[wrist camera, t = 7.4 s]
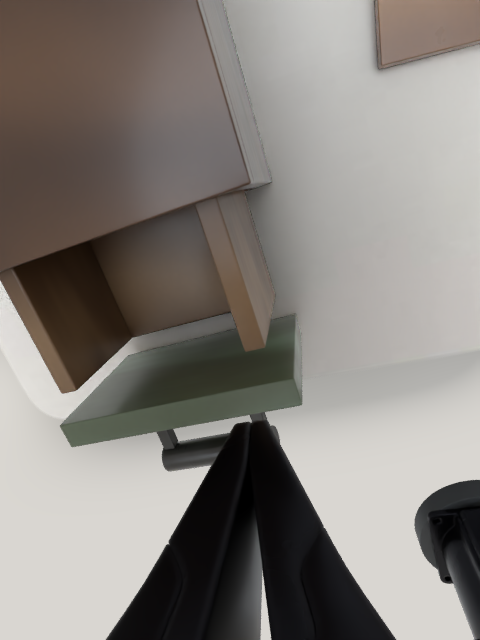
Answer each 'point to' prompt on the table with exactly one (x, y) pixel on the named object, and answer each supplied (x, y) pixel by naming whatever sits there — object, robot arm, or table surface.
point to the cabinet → (116, 118)
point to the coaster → (424, 28)
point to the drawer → (158, 314)
